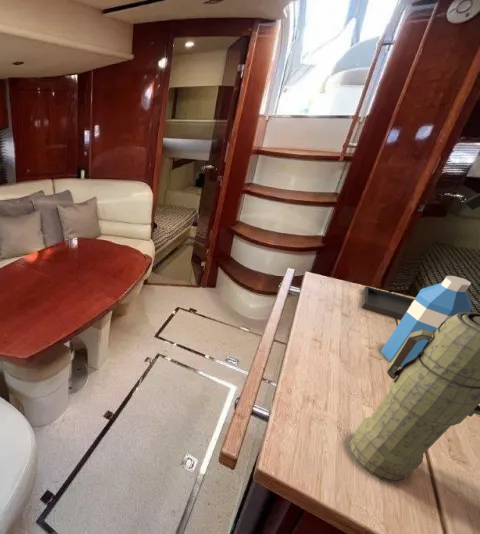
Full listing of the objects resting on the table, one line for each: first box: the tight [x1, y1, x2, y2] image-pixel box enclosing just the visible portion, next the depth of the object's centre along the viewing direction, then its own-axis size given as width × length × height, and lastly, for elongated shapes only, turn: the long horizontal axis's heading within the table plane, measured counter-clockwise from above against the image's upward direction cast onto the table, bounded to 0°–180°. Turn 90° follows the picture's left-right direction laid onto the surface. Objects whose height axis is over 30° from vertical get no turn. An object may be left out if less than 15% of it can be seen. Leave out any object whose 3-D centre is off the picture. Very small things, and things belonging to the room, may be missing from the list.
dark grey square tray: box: [361, 285, 415, 321], centre depth 101 cm, size 13×13×2 cm
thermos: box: [347, 311, 480, 483], centre depth 52 cm, size 9×12×35 cm
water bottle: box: [380, 275, 473, 368], centre depth 76 cm, size 9×9×25 cm
